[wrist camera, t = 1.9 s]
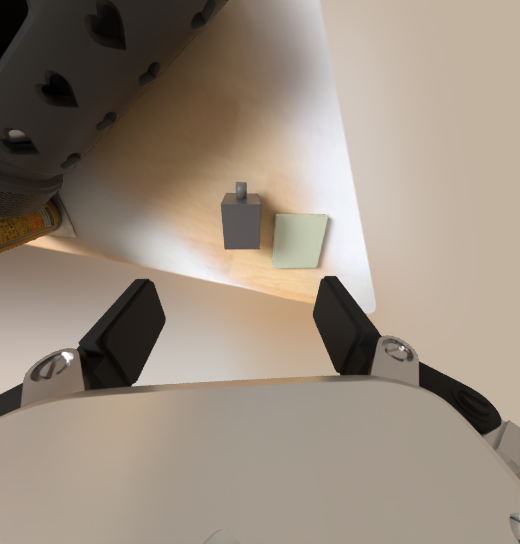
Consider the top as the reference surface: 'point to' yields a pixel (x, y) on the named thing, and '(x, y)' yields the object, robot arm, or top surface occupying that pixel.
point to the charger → (241, 219)
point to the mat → (298, 240)
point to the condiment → (36, 225)
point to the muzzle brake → (77, 80)
